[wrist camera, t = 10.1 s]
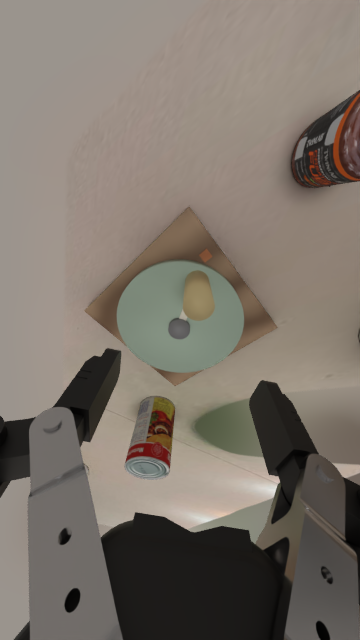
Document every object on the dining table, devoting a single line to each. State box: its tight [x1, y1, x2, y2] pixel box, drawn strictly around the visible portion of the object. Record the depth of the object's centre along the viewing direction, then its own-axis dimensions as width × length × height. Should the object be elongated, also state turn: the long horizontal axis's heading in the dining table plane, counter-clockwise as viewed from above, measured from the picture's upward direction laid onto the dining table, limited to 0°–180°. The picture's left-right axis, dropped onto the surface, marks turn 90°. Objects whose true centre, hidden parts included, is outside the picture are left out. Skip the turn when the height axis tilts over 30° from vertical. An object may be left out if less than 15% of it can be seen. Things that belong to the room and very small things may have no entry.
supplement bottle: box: [292, 90, 360, 188], centre depth 16 cm, size 6×6×11 cm
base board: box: [84, 207, 278, 386], centre depth 30 cm, size 21×21×2 cm
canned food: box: [125, 396, 175, 480], centre depth 38 cm, size 8×8×12 cm
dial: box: [117, 259, 244, 373], centre depth 25 cm, size 18×18×9 cm
